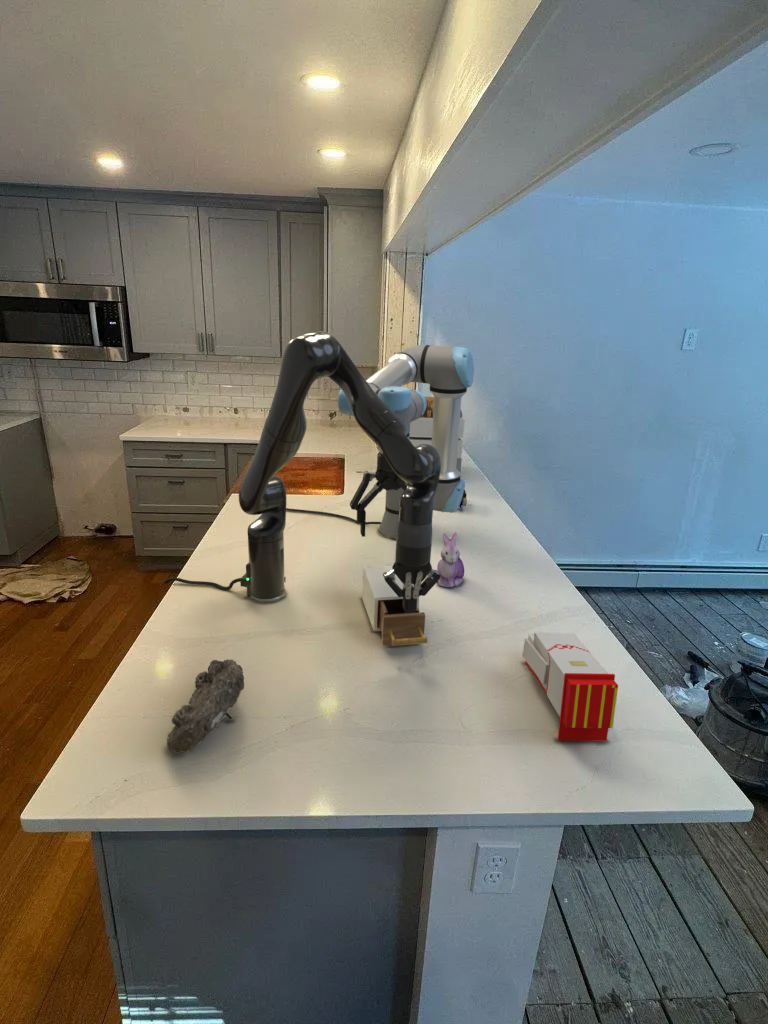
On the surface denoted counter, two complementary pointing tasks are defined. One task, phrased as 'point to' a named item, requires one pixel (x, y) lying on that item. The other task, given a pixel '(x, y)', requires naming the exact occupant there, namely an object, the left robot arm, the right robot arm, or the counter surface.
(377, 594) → the cabinet
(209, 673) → the fossil
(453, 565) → the figurine
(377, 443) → the left robot arm
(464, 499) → the figurine character
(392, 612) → the drawer
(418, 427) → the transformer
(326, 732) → the counter surface
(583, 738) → the toy
